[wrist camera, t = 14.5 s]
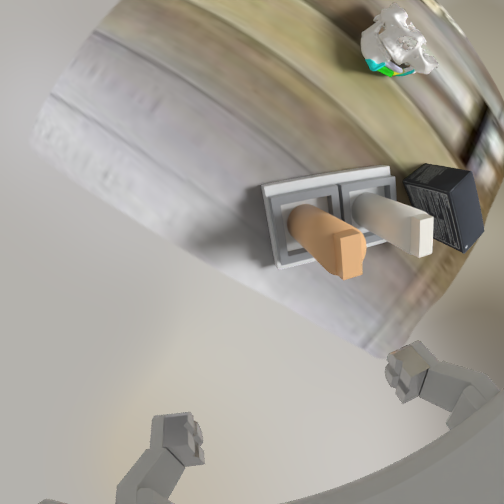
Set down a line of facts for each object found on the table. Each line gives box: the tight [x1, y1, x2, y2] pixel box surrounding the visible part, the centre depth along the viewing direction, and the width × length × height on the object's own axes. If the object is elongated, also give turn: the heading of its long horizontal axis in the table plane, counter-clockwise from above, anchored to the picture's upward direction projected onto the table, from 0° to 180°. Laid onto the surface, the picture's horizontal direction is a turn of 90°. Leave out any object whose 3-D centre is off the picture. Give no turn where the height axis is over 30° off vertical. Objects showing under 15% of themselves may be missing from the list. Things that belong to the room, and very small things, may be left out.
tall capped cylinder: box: [287, 204, 366, 280], centre depth 30 cm, size 5×5×12 cm
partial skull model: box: [361, 2, 439, 77], centre depth 27 cm, size 12×9×10 cm
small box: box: [403, 163, 484, 254], centre depth 35 cm, size 11×6×10 cm, turn 34°
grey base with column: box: [261, 165, 434, 270], centre depth 31 cm, size 18×11×14 cm, turn 101°
